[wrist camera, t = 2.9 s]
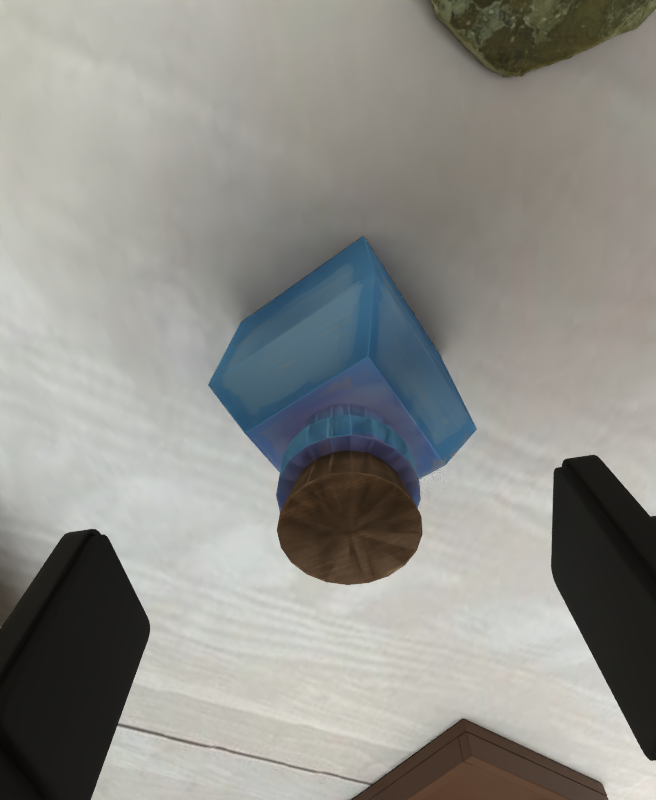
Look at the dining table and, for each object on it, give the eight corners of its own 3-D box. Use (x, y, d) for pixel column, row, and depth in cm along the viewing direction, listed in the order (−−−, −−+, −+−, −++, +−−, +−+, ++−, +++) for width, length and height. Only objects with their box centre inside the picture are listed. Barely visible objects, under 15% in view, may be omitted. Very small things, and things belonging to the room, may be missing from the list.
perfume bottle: (363, 235, 20) (397, 346, 9) (441, 357, 22) (542, 560, 11) (240, 322, 21) (146, 502, 11) (324, 426, 24) (316, 661, 13)
